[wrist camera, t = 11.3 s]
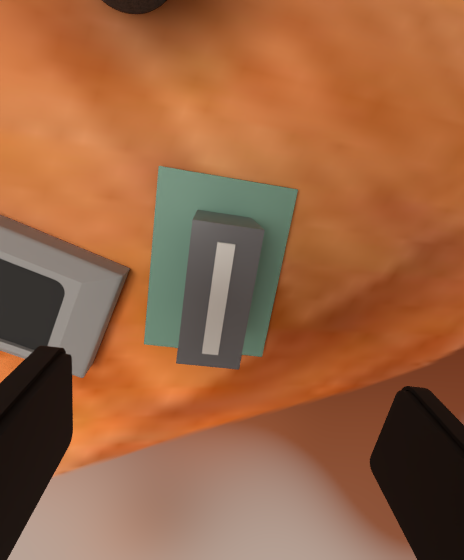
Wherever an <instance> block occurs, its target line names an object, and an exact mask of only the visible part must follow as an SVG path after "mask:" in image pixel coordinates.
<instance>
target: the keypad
mask: <svg viewBox="0 0 464 560" xmlns="http://www.w3.org/2000/svg"><path fill="white" fill-rule="evenodd" d="M129 270H130V268H128V267H126V266H123V265H121V264H118V263H116V262H114V261H111V260H109V259H106V258H104V257H102V256H99V255H97V254H94V253H92V252H89V251H87V250H85V249H82V248H80V247H77V246H75V245H73V244H70V243H68V242H65V241H63V240H60V239H58V238H56V237H53V236H51V235H48V234H46V233H44V232H41V231H39V230H36V229H34V228H31V227H29V226H27V225H24V224H22V223H19V222H17V221H15V220H12V219H10V218H7V217H5V216H2V215H0V351H3V352H6V353H9V354H12V355H15V356H18V357H21V358H24V359H26V358H27V357H28V356H29V355H30V354H31V353H32V352H33V351H34V350H35V349H36V348H37V347H39V346H51V347H60V348H64V349H65V351H66V354H70V355H71V356H72V375H75V376H78V377H81V378H83V377H84V376H85V374H86V373H87V371H88V370H89V368H90V367H91V365H92V364H93V362H94V359H95V357H96V354H97V351H98V349H99V346H100V344H101V341H102V339H103V336H104V334H105V331H106V329H107V326H108V323H109V321H110V318H111V316H112V313H113V311H114V308H115V306H116V303H117V301H118V298H119V295H120V293H121V290H122V288H123V285H124V283H125V280H126V278H127V275H128V273H129Z"/></svg>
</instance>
